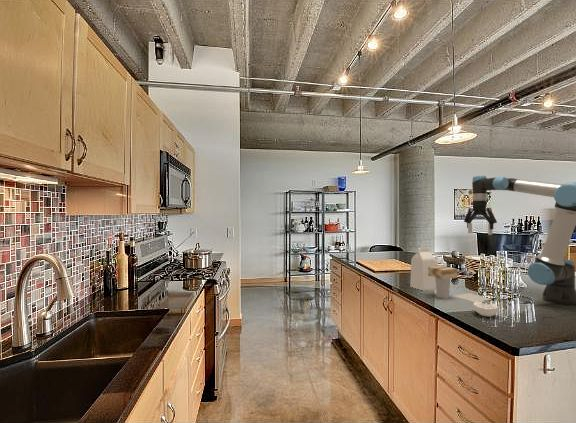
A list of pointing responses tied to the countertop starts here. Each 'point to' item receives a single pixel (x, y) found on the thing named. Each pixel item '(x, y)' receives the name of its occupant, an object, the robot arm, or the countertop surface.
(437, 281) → the cup
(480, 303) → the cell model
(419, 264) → the milk
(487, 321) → the countertop surface
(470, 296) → the mat
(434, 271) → the bread bun
